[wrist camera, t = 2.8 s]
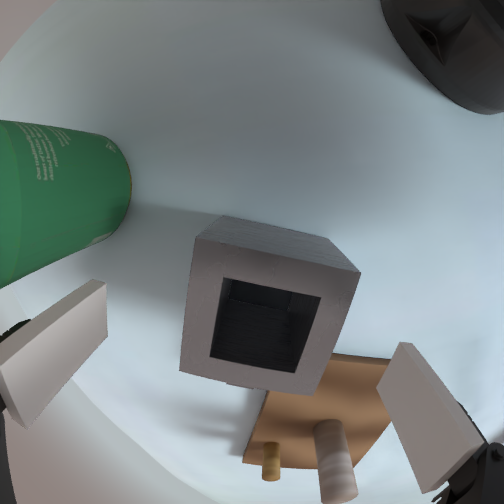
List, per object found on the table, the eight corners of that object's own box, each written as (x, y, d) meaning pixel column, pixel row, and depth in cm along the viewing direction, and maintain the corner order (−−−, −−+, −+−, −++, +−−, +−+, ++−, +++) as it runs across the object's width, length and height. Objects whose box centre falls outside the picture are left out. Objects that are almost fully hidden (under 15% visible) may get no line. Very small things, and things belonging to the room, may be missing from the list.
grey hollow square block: (223, 215, 18) (195, 237, 11) (328, 238, 18) (361, 272, 11) (199, 357, 21) (175, 420, 14) (285, 374, 21) (289, 441, 14)
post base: (282, 345, 20) (287, 439, 11) (420, 361, 20) (465, 428, 11) (242, 456, 24) (235, 523, 15) (351, 462, 24) (363, 521, 15)
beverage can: (44, 193, 18) (-71, 217, 7) (95, 115, 17) (-32, 87, 5) (97, 261, 19) (-18, 331, 8) (158, 184, 18) (21, 201, 6)
